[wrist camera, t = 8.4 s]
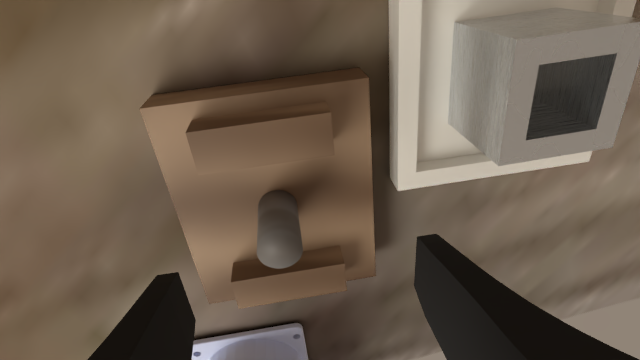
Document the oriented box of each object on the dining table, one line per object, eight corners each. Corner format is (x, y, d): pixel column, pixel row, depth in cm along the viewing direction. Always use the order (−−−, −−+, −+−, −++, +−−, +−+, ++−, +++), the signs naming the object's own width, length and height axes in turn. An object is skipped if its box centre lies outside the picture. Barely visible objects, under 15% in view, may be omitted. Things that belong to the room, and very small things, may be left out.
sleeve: (538, 109, 20) (612, 147, 16) (447, 123, 20) (498, 166, 15) (556, 7, 18) (652, 20, 13) (454, 22, 17) (516, 39, 13)
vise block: (368, 266, 25) (392, 337, 20) (217, 291, 24) (205, 370, 19) (359, 67, 18) (391, 102, 14) (151, 95, 18) (109, 141, 13)
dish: (570, 150, 22) (589, 161, 21) (390, 177, 22) (397, 191, 20) (628, -71, 17) (658, -74, 15) (388, -43, 16) (399, -44, 15)
